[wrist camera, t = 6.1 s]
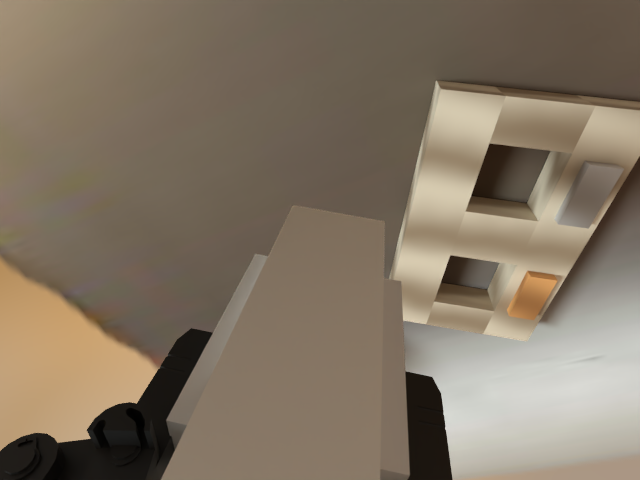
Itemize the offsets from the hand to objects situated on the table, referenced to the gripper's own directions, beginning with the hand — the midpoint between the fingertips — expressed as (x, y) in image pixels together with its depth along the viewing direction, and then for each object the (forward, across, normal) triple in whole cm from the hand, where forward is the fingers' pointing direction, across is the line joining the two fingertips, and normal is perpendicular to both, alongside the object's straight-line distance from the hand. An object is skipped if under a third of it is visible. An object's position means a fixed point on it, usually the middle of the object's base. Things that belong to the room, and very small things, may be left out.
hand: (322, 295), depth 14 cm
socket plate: (+19, +12, -5) cm, 24 cm away
